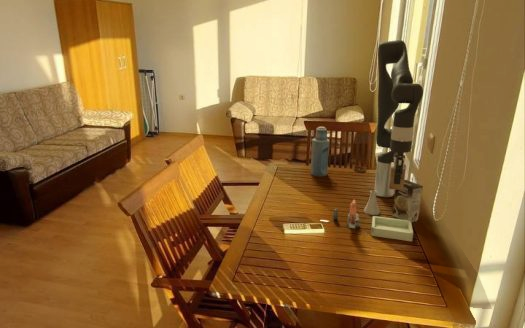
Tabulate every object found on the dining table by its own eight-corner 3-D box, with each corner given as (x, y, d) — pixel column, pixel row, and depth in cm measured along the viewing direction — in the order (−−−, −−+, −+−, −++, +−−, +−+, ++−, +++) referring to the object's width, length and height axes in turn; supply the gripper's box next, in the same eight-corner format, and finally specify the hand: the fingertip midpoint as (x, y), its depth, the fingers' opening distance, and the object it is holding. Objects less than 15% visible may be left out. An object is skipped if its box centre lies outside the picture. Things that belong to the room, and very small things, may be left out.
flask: (380, 216, 161) (382, 195, 158) (363, 214, 162) (365, 193, 159) (379, 209, 167) (381, 189, 165) (362, 208, 169) (364, 188, 166)
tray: (371, 223, 153) (372, 215, 153) (410, 228, 149) (411, 220, 148) (371, 235, 142) (371, 227, 142) (412, 241, 138) (413, 233, 137)
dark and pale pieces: (321, 217, 158) (322, 206, 157) (359, 222, 154) (360, 211, 152) (319, 223, 153) (320, 212, 151) (358, 228, 148) (359, 217, 147)
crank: (348, 217, 153) (350, 192, 150) (359, 218, 152) (361, 193, 149) (345, 229, 142) (347, 202, 139) (357, 231, 141) (359, 204, 138)
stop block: (388, 184, 144) (391, 162, 141) (402, 186, 142) (405, 163, 140) (388, 188, 139) (391, 165, 137) (403, 190, 138) (406, 167, 135)
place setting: (341, 175, 218) (342, 166, 217) (350, 167, 235) (351, 158, 234) (371, 180, 210) (372, 170, 209) (378, 171, 227) (379, 162, 226)
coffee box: (391, 215, 161) (395, 181, 157) (401, 213, 164) (406, 179, 160) (407, 223, 153) (412, 187, 149) (418, 220, 156) (423, 185, 152)
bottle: (317, 174, 219) (320, 124, 211) (330, 178, 212) (333, 127, 203) (306, 177, 213) (309, 126, 205) (319, 181, 206) (322, 129, 197)
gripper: (390, 134, 143) (386, 175, 148) (391, 141, 130) (386, 186, 135) (411, 135, 141) (406, 177, 146) (413, 143, 128) (408, 188, 132)
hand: (396, 181), depth 140 cm, fingers closed on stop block, 5 cm apart
